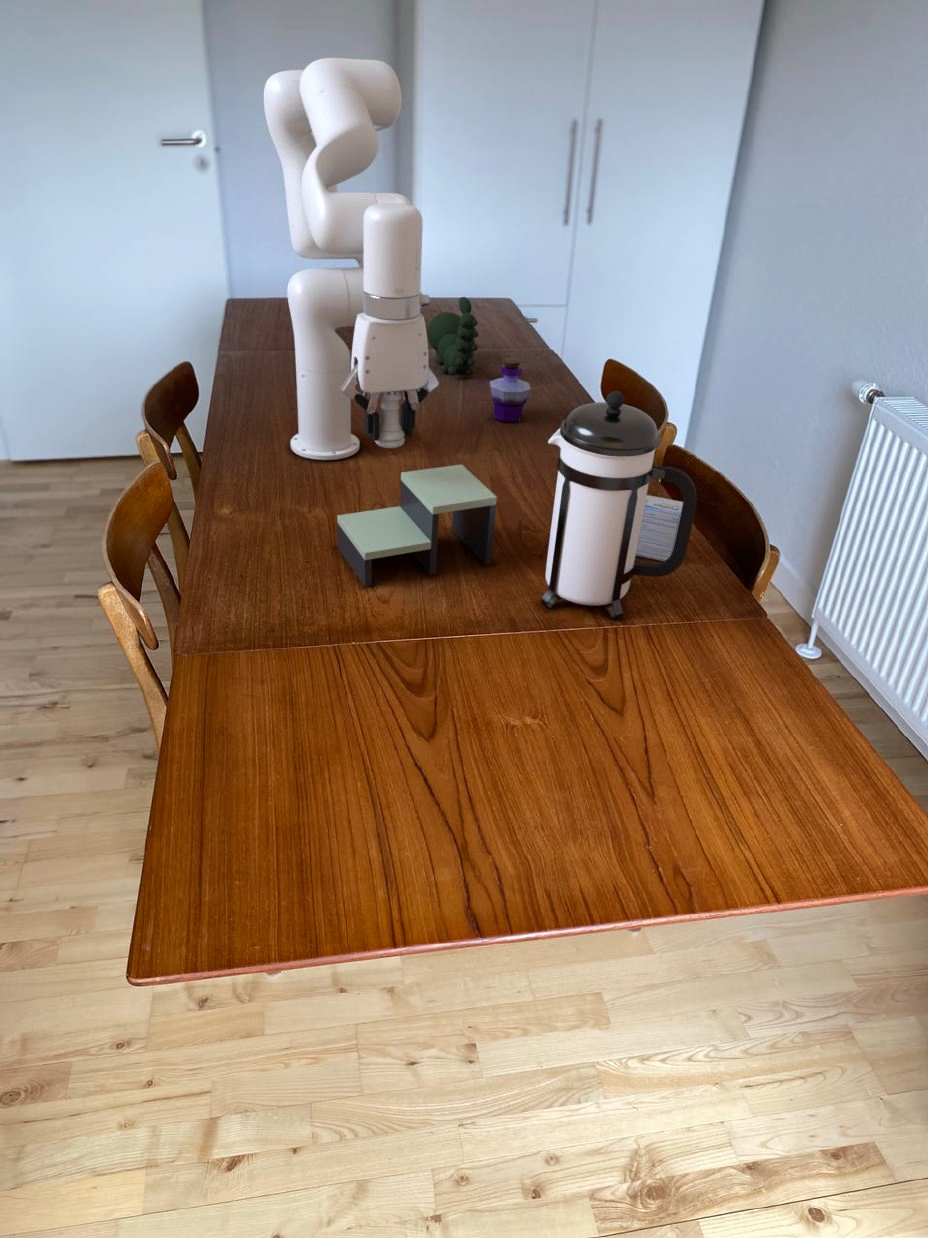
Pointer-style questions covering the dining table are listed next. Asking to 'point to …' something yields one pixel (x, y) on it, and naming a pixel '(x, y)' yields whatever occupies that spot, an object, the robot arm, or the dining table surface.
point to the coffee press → (607, 505)
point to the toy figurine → (454, 339)
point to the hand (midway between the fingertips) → (389, 434)
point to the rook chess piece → (390, 421)
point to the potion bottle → (509, 392)
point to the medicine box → (658, 528)
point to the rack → (421, 520)
